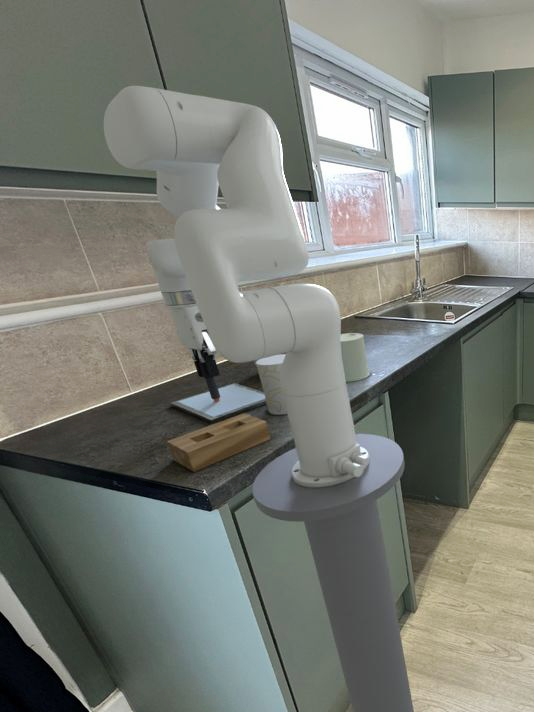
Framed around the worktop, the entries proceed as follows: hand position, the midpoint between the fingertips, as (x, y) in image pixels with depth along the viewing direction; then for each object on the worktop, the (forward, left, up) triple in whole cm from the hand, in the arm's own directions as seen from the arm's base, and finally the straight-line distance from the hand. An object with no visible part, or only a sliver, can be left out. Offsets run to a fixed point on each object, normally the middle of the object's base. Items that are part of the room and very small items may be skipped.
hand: (209, 375), depth 99 cm
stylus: (0, 0, -7) cm, 7 cm away
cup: (-17, -8, -8) cm, 20 cm away
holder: (-25, +10, -8) cm, 28 cm away
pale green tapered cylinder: (-13, -30, -8) cm, 33 cm away
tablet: (0, -2, -8) cm, 8 cm away
